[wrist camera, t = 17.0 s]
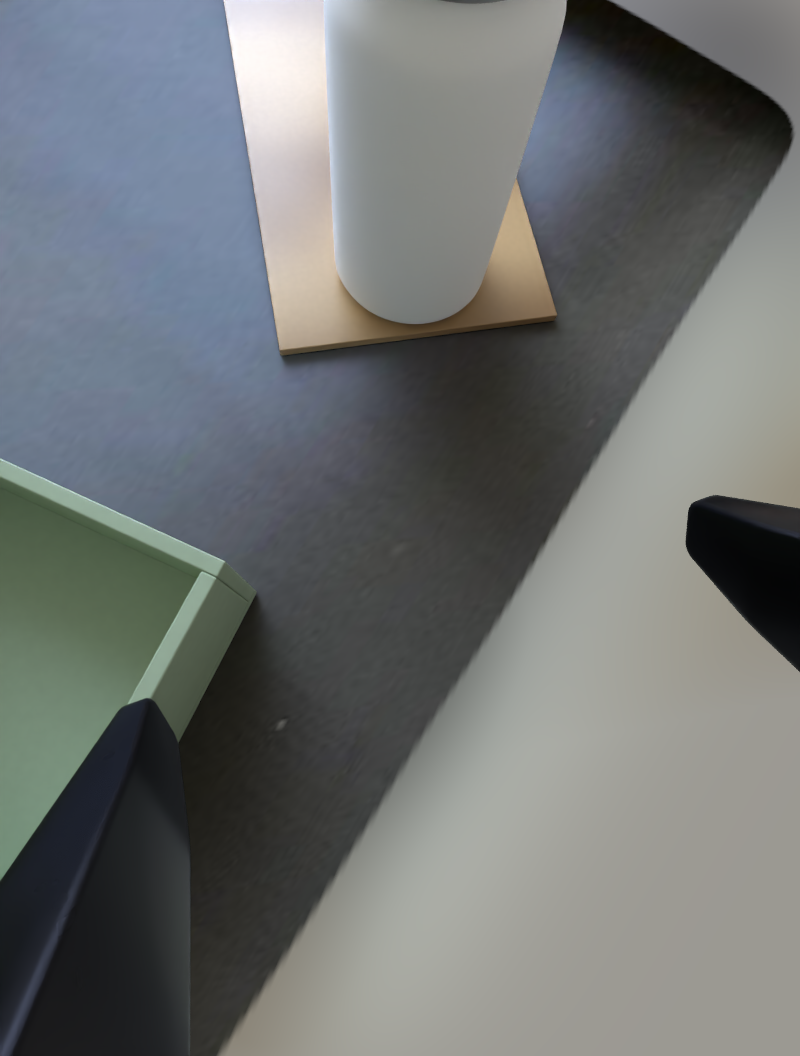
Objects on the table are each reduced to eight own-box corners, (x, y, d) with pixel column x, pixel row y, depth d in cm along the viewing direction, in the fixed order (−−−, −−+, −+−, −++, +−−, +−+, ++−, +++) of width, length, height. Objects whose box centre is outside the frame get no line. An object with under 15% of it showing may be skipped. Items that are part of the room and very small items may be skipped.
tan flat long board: (554, 321, 25) (557, 315, 25) (280, 356, 24) (279, 350, 24) (398, -207, 34) (399, -218, 34) (190, -205, 33) (188, -216, 32)
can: (311, 229, 25) (276, -155, 14) (444, 187, 26) (514, -199, 15) (371, 351, 24) (387, 40, 12) (508, 302, 25) (641, -26, 14)
